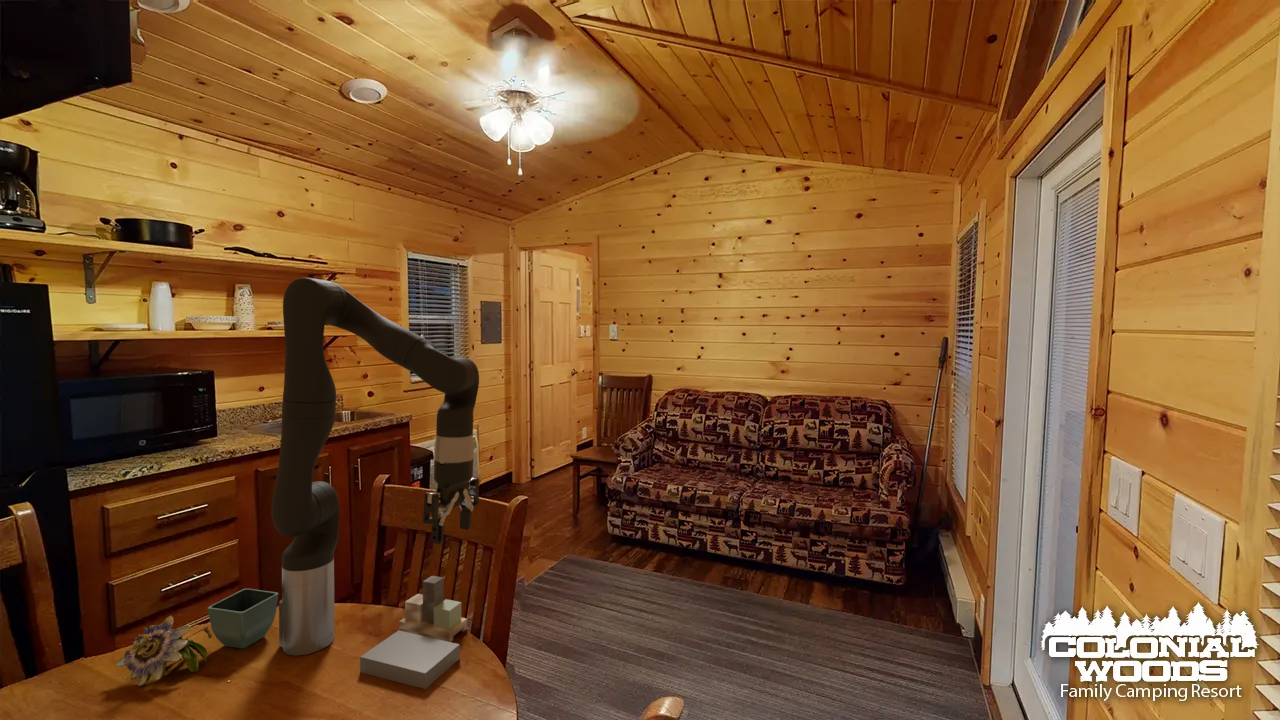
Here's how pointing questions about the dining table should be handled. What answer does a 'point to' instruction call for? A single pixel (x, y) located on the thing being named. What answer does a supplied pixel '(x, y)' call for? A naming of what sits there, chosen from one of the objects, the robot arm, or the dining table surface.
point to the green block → (447, 614)
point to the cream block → (414, 608)
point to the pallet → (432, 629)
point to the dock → (410, 659)
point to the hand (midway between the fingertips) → (451, 535)
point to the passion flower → (161, 651)
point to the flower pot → (243, 617)
